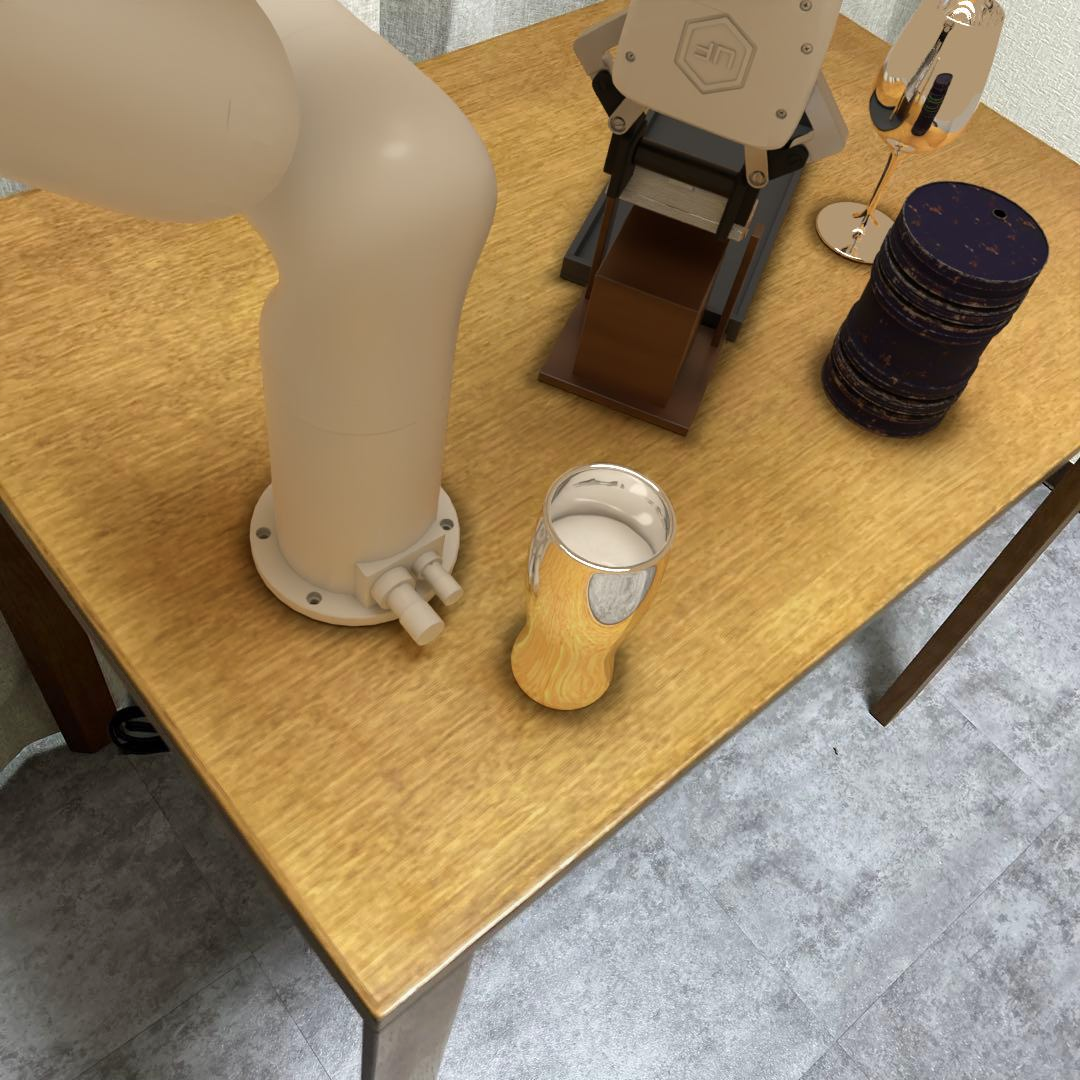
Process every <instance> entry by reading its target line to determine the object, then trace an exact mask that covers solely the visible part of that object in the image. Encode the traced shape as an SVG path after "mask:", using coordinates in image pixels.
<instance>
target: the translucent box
mask: <svg viewBox="0 0 1080 1080" xmlns="http://www.w3.org/2000/svg"><path fill="white" fill-rule="evenodd" d="M632 164H633V165H635V170H634V173H633V175H632V177H631V179H630V180H629V182H628V184H627V185H626V187H625V189H624V190H623V192H622V194H621V195H620V197H619V199H622V200H625V201H627V202H630V203H633V204H636V205H638V206H641V207H644V208H647V209H650V210H652V211H655V212H658V213H661V214H663V215H666V216H669V217H672V218H674V219H677V220H680V221H683V222H685V223H688V224H691V225H694V226H696V227H699V228H702V229H705V230H707V231H710V232H713V233H716V231H717V228H718V225H719V223H720V220H721V217H722V214H723V212H724V209H725V206H726V204H727V201H728V198H729V195H730V193H731V190H732V187H733V185H734V182H735V180H736V178H737V176H738V174H739V171H737V170H734V169H732V168H729V167H726V166H723V165H720V164H718V163H715V162H712V161H709V160H706V159H704V158H701V157H698V156H695V155H692V154H690V153H687V152H684V151H681V150H678V149H675V148H673V147H670V146H667V145H664V144H661V143H659V142H656V141H653V140H650V139H647V138H645V137H641V138H640V140H639V142H638V144H637V146H636V149H635V152H634V156H633V160H632ZM609 178H611V177H609ZM608 180H609V179H608ZM609 182H610V180H609ZM608 186H609V184H608ZM608 186H607V189H606V192H605V193H606V194H607V190H608ZM758 201H759V200H758V199H757V200H756V202H755V205H754V207H753V210H752V212H751V215H750V217H749V219H748V222H747V224H746V226H745V227H742V226H740V225H737V224H735V223H734V225H733V227H732V229H731V232H730V234H729V236H728V238H729V239H732V240H735V241H740V240H742V239H743V238H744V237H746V235H747V232H748V227H749V224H750V222H751V219H752V217H753V214H754V211H755V209H756V206H757V204H758Z"/></svg>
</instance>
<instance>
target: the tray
mask: <svg viewBox="0 0 1080 1080" xmlns="http://www.w3.org/2000/svg"><path fill="white" fill-rule="evenodd" d="M646 114H647V115H646V119H645V120H647V121H648V123H647V127H646V130H645V134H644V137H645V138H647V139H650V140H653V141H656V142H659V143H661V144H664V145H667V146H670V147H673V148H675V149H678V150H681V151H684V152H687V153H690V154H692V155H695V156H698V157H701V158H704V159H706V160H709V161H712V162H715V163H718V164H720V165H723V166H726V167H729V168H732V169H734V170H737V171H739V172H740V170H741V168H742V166H743V164H744V162H745V149H744V145H743V144H740V143H737V142H734V141H732V140H729V139H726V138H724V137H721V136H718V135H716V134H713V133H710V132H708V131H705V130H703V129H700V128H697V127H695V126H692V125H690V124H687V123H684V122H682V121H679V120H677V119H674V118H671V117H669V116H666V115H664V114H661V113H659V112H656V111H654V110H651V109H649V108H648V111H647V113H646ZM811 131H813V127H812V125H811V123H810V121H809V119H808V117H807V114H806V112H805V110H804V113H803V115H802V117H801V119H800V121H799V123H798V125H797V127H796V129H795V131H794V133H793V134H792V136H791V137H790V138H792V137H795V136H797V135H806V134H808V133H809V132H811ZM804 169H805V166H804V167H803V168H801V169H799V170H797V171H794V172H791V173H789V174H786V175H783V176H781V177H778V178H776V179H773V180H770V181H768V183H767V185H766V186H764V187H763V188H761V190H760V192H759V195H758V197H757V199H758V200H759V201H758V204H757V206H756V209H755V211H754V214H753V217H752V219H751V222H750V224H749V227H748V232H747V235H746V237H744V238H743V239H742V240H740V241H735V240H732V239H730V243H729V246H728V248H727V251H726V254H725V257H724V260H723V262H722V265H721V268H720V271H719V274H718V276H717V279H716V282H715V285H714V288H713V290H712V293H711V296H710V299H709V302H708V304H707V307H706V310H705V313H704V316H703V318H702V321H701V325H704V326H707V327H709V328H712V329H715V330H716V328H717V326H718V323H719V320H720V318H721V315H722V312H723V310H724V307H725V304H726V302H727V299H728V296H729V294H730V291H731V288H732V286H733V283H734V280H735V278H736V275H737V272H738V270H739V267H740V264H741V262H742V259H743V256H744V254H745V251H746V248H747V246H748V243H749V240H750V238H751V235H752V233H753V230H754V228H755V225H756V223H757V222H759V223H762V224H764V225H765V227H764V230H763V233H762V235H761V238H760V240H759V243H758V246H757V248H756V251H755V253H754V256H753V259H752V261H751V264H750V266H749V269H748V272H747V274H746V277H745V279H744V282H743V285H742V287H741V290H740V292H739V295H738V298H737V300H736V303H735V305H734V308H733V311H732V313H731V316H730V318H729V321H728V324H727V326H726V329H725V331H724V333H725V334H727V338H726V340H728V341H730V342H731V341H732V342H733V343H735V342H736V341H737V338H738V335H739V333H740V330H741V328H742V325H743V323H744V320H745V318H746V315H747V313H748V310H749V307H750V305H751V303H752V300H753V297H754V295H755V292H756V290H757V287H758V285H759V282H760V280H761V277H762V275H763V272H764V270H765V267H766V265H767V262H768V260H769V257H770V254H771V252H772V249H773V247H774V245H775V242H776V240H777V237H778V234H779V232H780V229H781V227H782V224H783V222H784V219H785V217H786V214H787V211H788V209H789V207H790V204H791V201H792V198H793V196H794V194H795V192H796V189H797V186H798V184H799V182H800V179H801V176H802V174H803V172H804ZM610 177H611V175H610ZM610 177H609V178H608V180H607V182H606V184H605V185H604V187H603V188H602V190H601V192H600V194H599V196H598V197H597V199H596V201H595V203H594V204H593V206H592V208H591V209H590V211H589V213H588V214H587V216H586V218H585V219H584V222H583V223H582V225H581V227H580V229H579V230H578V232H577V234H576V235H575V237H574V239H573V240H572V242H571V244H570V246H569V247H568V249H567V251H566V253H565V254H564V256H563V260H562V265H561V270H560V274H559V277H560V278H562V279H565V280H568V281H570V282H572V283H576V284H578V285H581V286H584V287H586V286H587V284H588V279H589V275H590V271H591V267H592V262H593V258H594V254H595V250H596V245H597V241H598V237H599V232H600V228H601V224H602V220H603V215H604V211H605V207H606V202H607V198H608V197H607V196H606V193H605V192H606V189H607V186H608V184H609V180H610ZM633 205H636V204H633V203H630V202H627V201H625V200H622V199H620V201H619V205H618V209H617V213H616V217H615V221H614V225H613V230H612V234H611V238H610V242H609V246H608V250H607V253H608V251H609V249H610V247H611V245H612V243H613V242H614V240H615V238H616V236H617V234H618V232H619V231H620V229H621V227H622V225H623V223H624V221H625V219H626V218H627V216H628V214H629V212H630V210H631V208H632V207H633ZM636 206H638V205H636ZM639 207H641V206H639ZM642 208H644V207H642ZM645 209H647V208H645ZM648 210H650V209H648ZM650 211H652V210H650ZM653 212H655V211H653ZM656 213H658V212H656ZM659 214H661V213H659ZM661 215H663V214H661ZM664 216H666V215H664ZM667 217H669V216H667ZM670 218H672V217H670ZM672 219H674V218H672ZM675 220H677V219H675ZM678 221H680V220H678ZM704 230H705V229H704ZM705 231H707V230H705ZM708 232H710V231H708ZM711 233H713V232H711ZM714 234H715V233H714ZM727 239H729V238H727ZM606 255H607V254H606Z"/></svg>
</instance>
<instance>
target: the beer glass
mask: <svg viewBox="0 0 1080 1080" xmlns="http://www.w3.org/2000/svg"><path fill="white" fill-rule="evenodd" d="M673 505H674V504H673V503H672V502H671V499H670V498H669V496H668V494H667V493H666V492H665V491H664V490H663V488H662V487H661V486H660V485H659V484H657V483H656V482H655V480H653V479H652V478H651V477H650V476H648V475H646V474H644V473H643V472H640V471H638V470H637V469H635V468H632V467H630V466H627V465H623V464H619V463H614V462H604V461H602V462H600V461H599V462H596V461H595V462H589V463H584V464H580V465H577V466H574V467H572V468H570V469H567V470H566V471H564V472H562V473H561V474H560V475H559V476H558V477H556V479H554V481H553V482H552V483H551V484H550V486H549V488H548V489H547V491H546V493H545V496H544V499H543V504H542V507H541V508H540V512H539V514H538V516H537V518H536V522H535V525H534V528H533V529H532V534H531V537H530V540H529V544H528V548H527V554H526V558H525V564H524V598H525V599H524V601H525V612H526V615H525V616H526V620H525V621H526V622H525V625H523V628H522V629H521V630H520V632H519V634H518V635H517V637H516V639H515V641H514V642H513V646H512V649H511V654H510V664H511V671H512V674H513V677H514V680H515V681H516V683H517V685H518V686H519V688H520V689H521V690H522V691H523V692H524V694H526V696H528V697H529V698H530V699H531V700H533V701H535V702H536V703H538V704H539V705H542V706H544V707H547V708H549V709H554V710H558V711H559V710H560V711H572V710H573V711H574V710H580V709H582V708H586V707H588V706H590V705H591V704H593V703H595V702H597V700H599V699H600V698H601V697H602V696H603V695H604V694H605V693H606V691H607V690H608V688H609V687H610V684H611V683H612V682H611V681H612V679H613V675H614V670H615V653H616V652H617V650H618V649H619V647H620V646H621V645H622V644H623V643H624V641H625V640H626V639H627V638H628V637H629V635H630V634H631V633H632V632H633V631H634V630H635V629H636V627H637V626H638V625H639V624H640V622H641V620H642V619H643V618H644V616H645V615H646V613H647V612H648V611H649V609H650V607H651V605H652V603H653V602H654V599H655V598H656V596H657V593H658V591H659V588H660V586H661V583H662V581H663V578H664V575H665V573H666V569H667V566H668V562H669V558H670V555H671V552H672V551H671V550H672V546H673V545H674V543H675V540H676V535H677V530H678V521H677V514H676V511H675V508H674V506H673Z"/></svg>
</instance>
